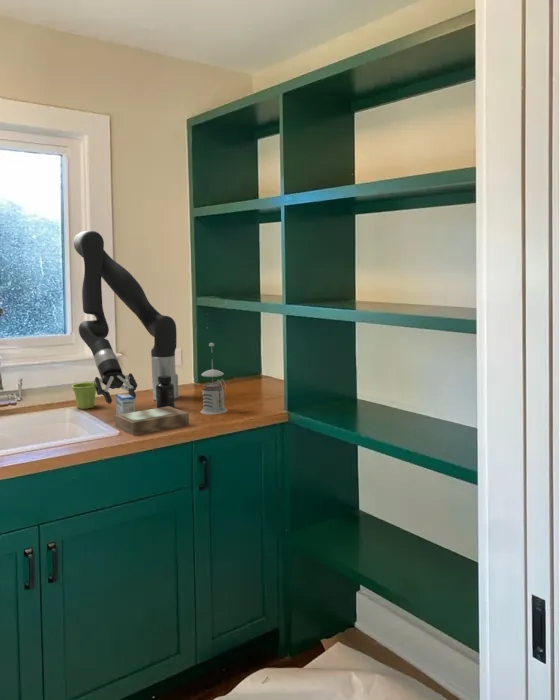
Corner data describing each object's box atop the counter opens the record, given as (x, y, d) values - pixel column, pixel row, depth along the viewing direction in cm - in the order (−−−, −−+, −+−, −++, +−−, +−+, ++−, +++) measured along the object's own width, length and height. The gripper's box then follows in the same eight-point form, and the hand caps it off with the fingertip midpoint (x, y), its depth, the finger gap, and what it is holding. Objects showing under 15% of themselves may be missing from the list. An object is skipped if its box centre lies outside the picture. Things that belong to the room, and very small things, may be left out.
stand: (169, 417, 229) (168, 405, 229) (189, 424, 218) (188, 412, 218) (115, 426, 217) (114, 414, 217) (133, 435, 206) (132, 421, 206)
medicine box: (116, 418, 229) (114, 394, 228) (128, 416, 232) (127, 392, 230) (123, 423, 223) (121, 398, 221) (135, 421, 225) (134, 396, 224)
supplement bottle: (173, 405, 248) (172, 374, 247) (176, 409, 242) (175, 377, 240) (155, 407, 246) (153, 375, 245) (157, 411, 240) (156, 378, 238)
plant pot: (95, 409, 244) (94, 386, 242) (69, 410, 243) (68, 387, 242) (101, 404, 253) (100, 382, 252) (77, 405, 253) (75, 382, 252)
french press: (216, 407, 245) (214, 340, 241) (236, 411, 236) (234, 342, 233) (194, 411, 238) (192, 343, 235) (214, 416, 230) (211, 345, 226)
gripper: (90, 359, 228) (105, 397, 221) (129, 356, 237) (144, 392, 229) (85, 373, 233) (99, 410, 226) (123, 368, 242) (138, 404, 234)
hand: (122, 400), depth 227 cm, fingers open, 8 cm apart
